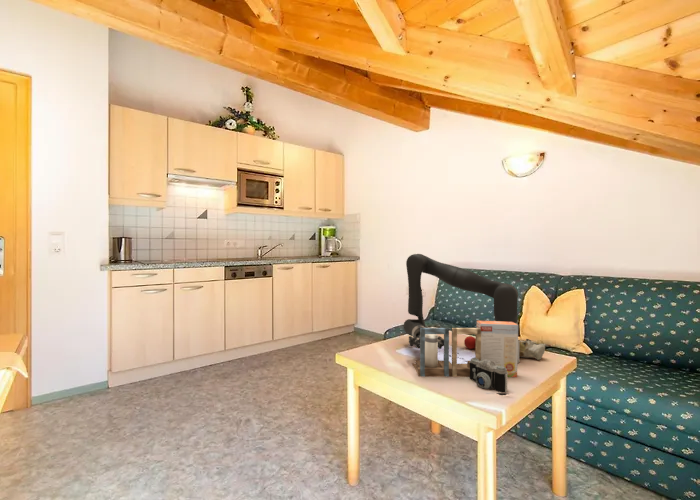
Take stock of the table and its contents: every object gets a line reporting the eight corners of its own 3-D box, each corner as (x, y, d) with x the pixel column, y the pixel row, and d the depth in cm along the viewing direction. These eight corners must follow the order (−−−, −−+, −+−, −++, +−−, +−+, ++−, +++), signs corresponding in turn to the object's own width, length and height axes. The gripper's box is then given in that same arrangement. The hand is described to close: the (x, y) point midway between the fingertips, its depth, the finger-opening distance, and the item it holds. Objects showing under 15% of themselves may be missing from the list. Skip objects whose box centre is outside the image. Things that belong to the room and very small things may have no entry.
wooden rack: (469, 366, 142) (470, 320, 142) (482, 379, 128) (483, 329, 128) (412, 365, 142) (412, 320, 142) (418, 379, 128) (419, 328, 128)
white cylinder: (435, 368, 137) (436, 333, 137) (439, 372, 132) (439, 336, 132) (423, 368, 137) (423, 333, 137) (425, 372, 132) (426, 336, 132)
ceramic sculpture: (543, 343, 145) (505, 339, 153) (545, 363, 145) (506, 359, 153) (546, 337, 154) (510, 334, 162) (547, 357, 153) (511, 353, 162)
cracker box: (511, 374, 133) (513, 321, 133) (517, 380, 127) (519, 324, 127) (474, 372, 135) (476, 319, 134) (479, 378, 129) (480, 323, 128)
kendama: (501, 350, 167) (462, 343, 171) (503, 339, 166) (464, 331, 170) (503, 358, 160) (463, 350, 164) (506, 346, 158) (466, 338, 162)
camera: (461, 382, 125) (461, 355, 125) (474, 379, 129) (474, 352, 128) (496, 398, 112) (497, 368, 112) (509, 394, 116) (510, 364, 116)
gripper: (405, 327, 152) (412, 336, 136) (437, 327, 152) (447, 337, 136) (405, 343, 152) (412, 355, 136) (437, 343, 152) (447, 355, 136)
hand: (430, 346), depth 136 cm, fingers open, 8 cm apart
